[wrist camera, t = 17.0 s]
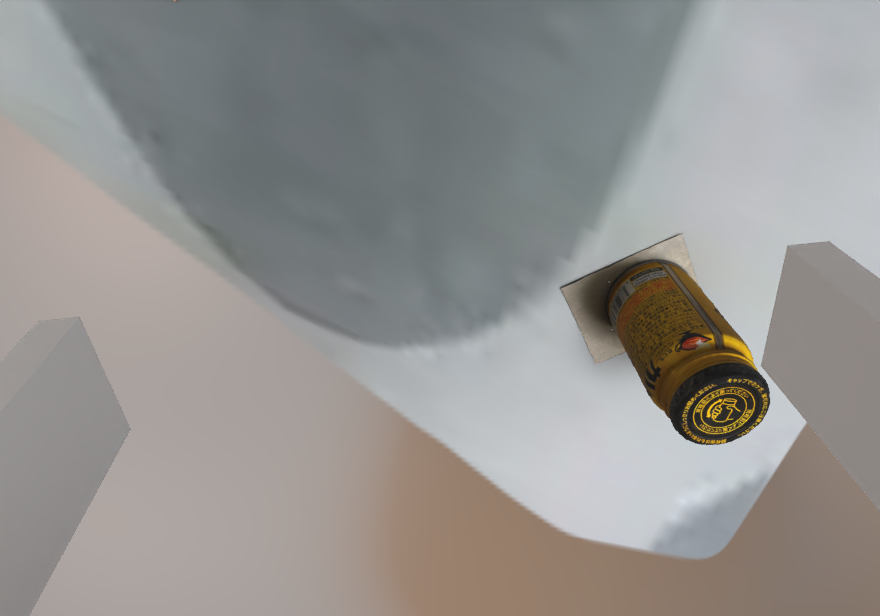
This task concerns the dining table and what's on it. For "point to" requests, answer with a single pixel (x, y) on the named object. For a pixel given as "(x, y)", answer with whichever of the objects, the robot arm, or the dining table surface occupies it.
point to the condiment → (672, 342)
